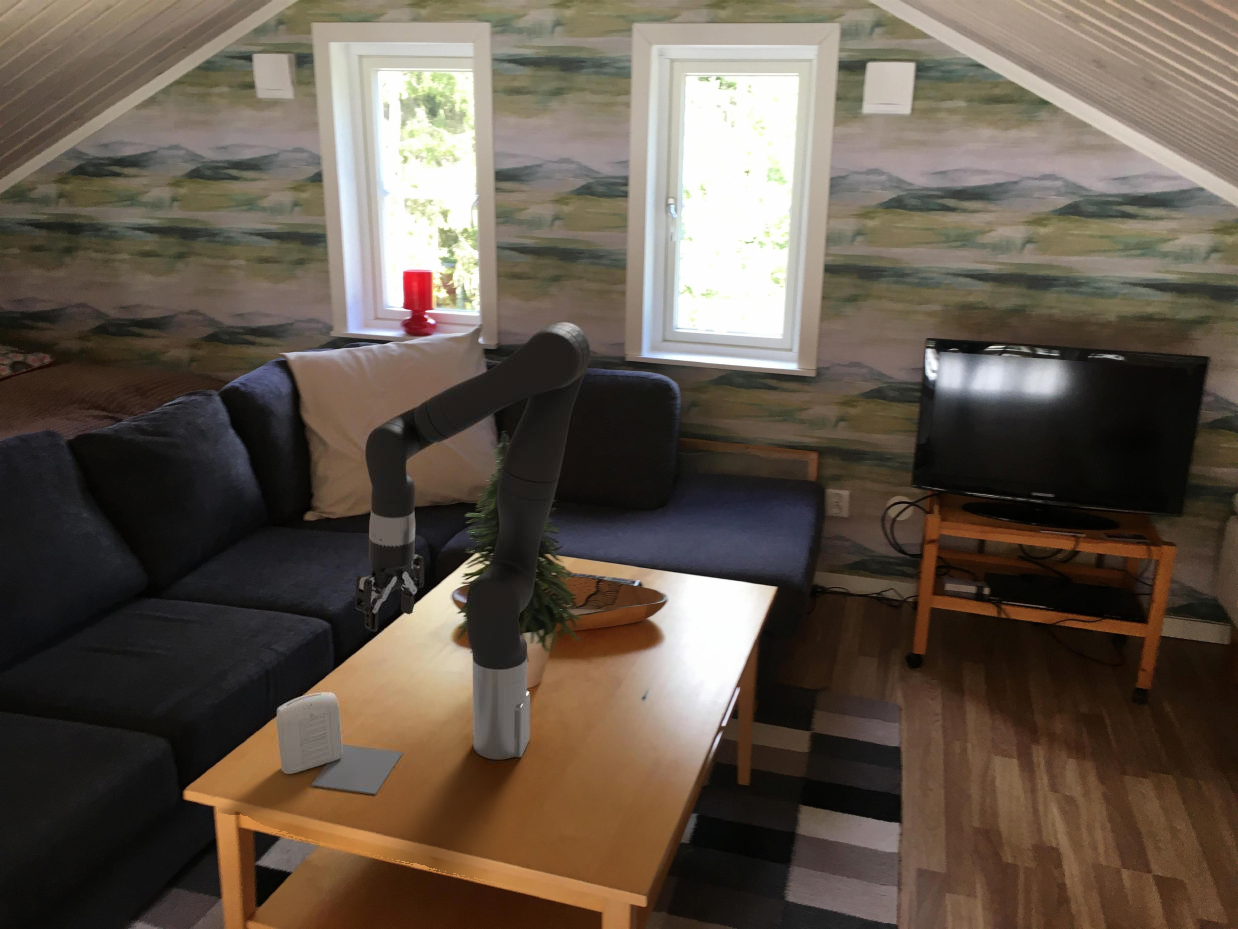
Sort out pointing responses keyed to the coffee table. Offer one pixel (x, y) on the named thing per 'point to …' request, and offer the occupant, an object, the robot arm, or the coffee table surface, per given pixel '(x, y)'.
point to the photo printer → (309, 732)
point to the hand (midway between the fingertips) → (389, 621)
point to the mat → (358, 770)
